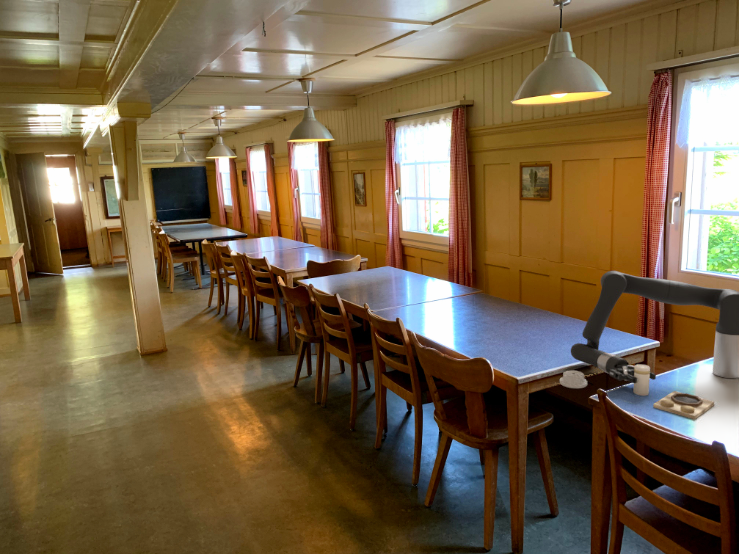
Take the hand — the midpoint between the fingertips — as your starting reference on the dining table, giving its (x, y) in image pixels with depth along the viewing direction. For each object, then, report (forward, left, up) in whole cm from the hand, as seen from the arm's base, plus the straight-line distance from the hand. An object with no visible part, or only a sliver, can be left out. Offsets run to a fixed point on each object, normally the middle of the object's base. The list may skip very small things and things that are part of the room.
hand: (645, 378), depth 192 cm
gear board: (0, +13, -6) cm, 15 cm away
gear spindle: (-1, -2, -6) cm, 6 cm away
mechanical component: (+9, -23, -7) cm, 26 cm away
